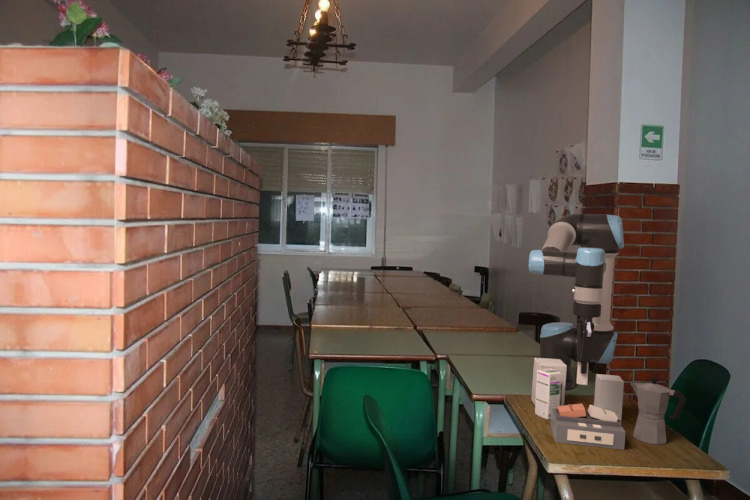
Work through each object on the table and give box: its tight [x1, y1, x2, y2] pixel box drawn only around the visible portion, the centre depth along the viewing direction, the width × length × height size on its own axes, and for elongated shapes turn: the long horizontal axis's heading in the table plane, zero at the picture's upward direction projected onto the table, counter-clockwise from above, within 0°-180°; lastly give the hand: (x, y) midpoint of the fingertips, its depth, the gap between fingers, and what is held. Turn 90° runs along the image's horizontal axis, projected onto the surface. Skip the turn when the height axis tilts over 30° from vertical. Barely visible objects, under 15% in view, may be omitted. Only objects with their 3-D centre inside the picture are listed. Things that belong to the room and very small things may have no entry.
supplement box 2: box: [593, 373, 625, 422], centre depth 184 cm, size 7×7×13 cm
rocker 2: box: [587, 404, 618, 422], centre depth 165 cm, size 5×7×2 cm
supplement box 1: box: [530, 357, 567, 406], centre depth 193 cm, size 9×9×15 cm
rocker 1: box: [557, 403, 587, 417], centre depth 166 cm, size 5×7×2 cm
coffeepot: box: [629, 376, 687, 446], centre depth 165 cm, size 15×9×18 cm, turn 43°
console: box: [549, 408, 626, 451], centre depth 166 cm, size 14×18×6 cm
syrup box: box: [534, 368, 563, 421], centre depth 182 cm, size 6×6×14 cm
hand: (581, 383), depth 165 cm, fingers closed
